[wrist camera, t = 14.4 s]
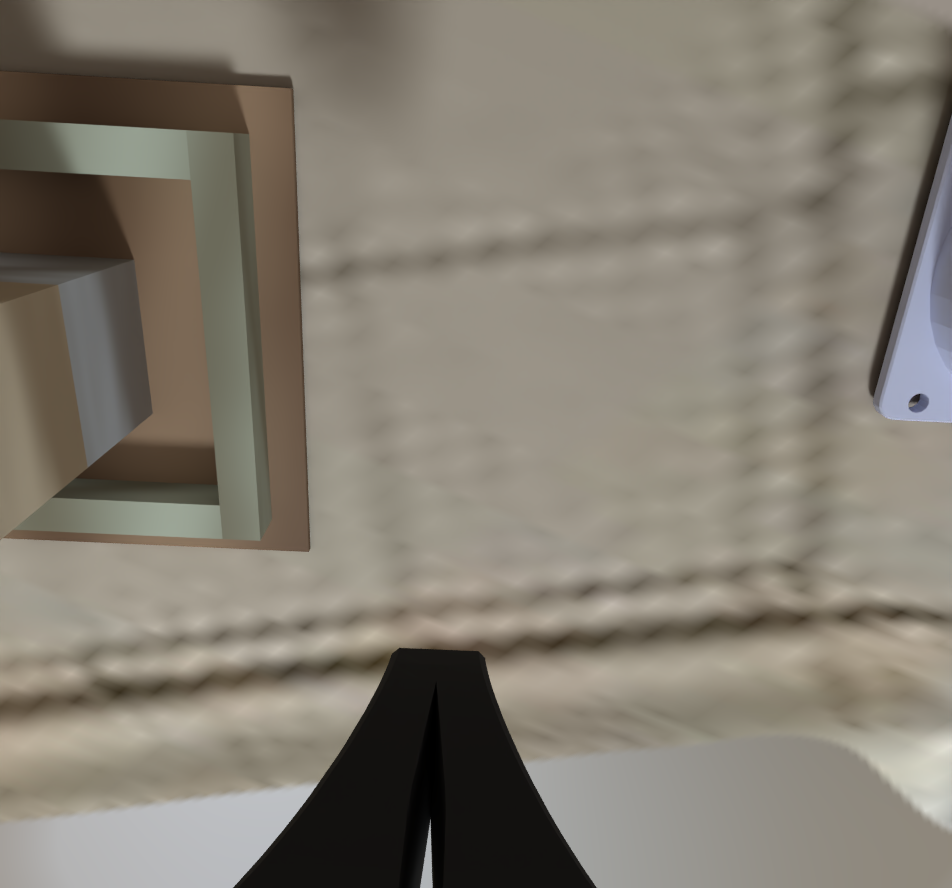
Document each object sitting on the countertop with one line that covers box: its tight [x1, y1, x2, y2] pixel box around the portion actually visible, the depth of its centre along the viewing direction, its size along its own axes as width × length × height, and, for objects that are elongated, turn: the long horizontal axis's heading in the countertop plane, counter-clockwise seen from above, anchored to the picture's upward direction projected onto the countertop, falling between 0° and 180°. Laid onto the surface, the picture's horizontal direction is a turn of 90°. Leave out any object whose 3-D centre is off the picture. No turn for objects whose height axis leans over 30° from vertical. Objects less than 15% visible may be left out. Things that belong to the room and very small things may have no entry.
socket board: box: [0, 71, 310, 552], centre depth 18 cm, size 12×12×1 cm
